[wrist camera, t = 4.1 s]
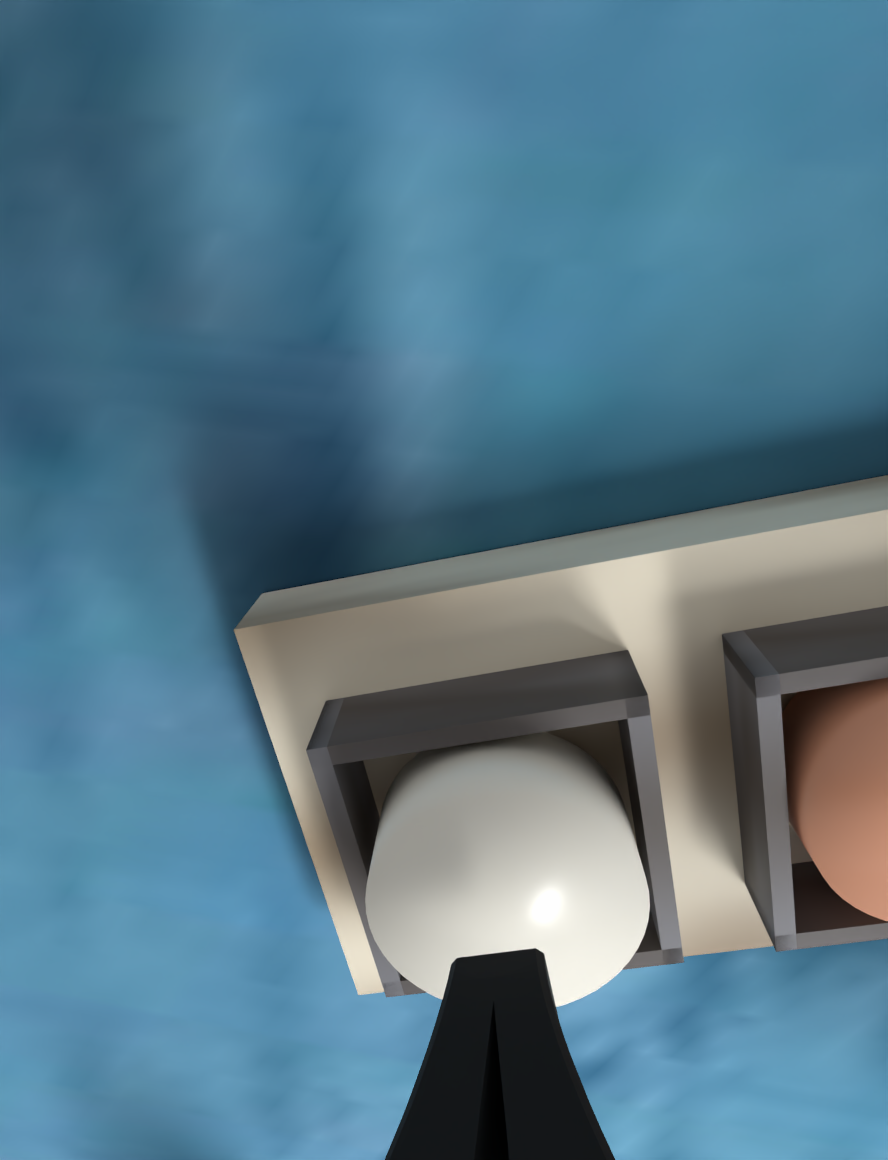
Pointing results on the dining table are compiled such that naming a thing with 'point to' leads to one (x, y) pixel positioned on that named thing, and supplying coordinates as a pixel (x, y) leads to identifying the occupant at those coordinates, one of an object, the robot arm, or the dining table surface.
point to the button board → (595, 699)
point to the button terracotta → (842, 787)
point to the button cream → (507, 864)
